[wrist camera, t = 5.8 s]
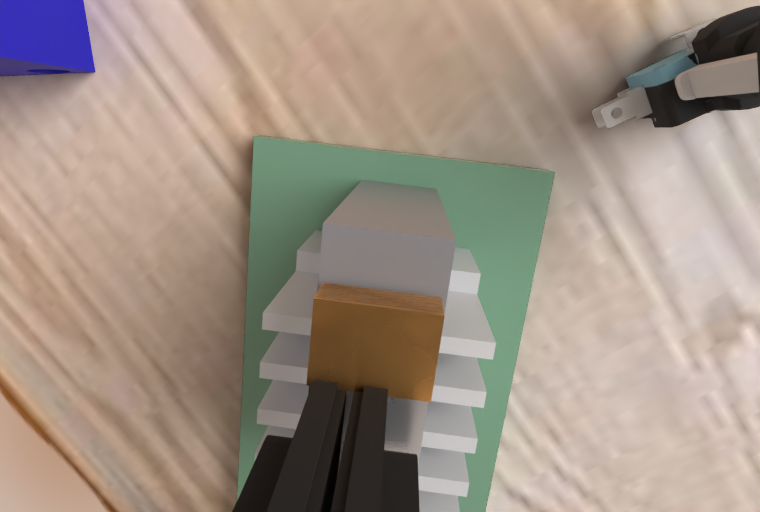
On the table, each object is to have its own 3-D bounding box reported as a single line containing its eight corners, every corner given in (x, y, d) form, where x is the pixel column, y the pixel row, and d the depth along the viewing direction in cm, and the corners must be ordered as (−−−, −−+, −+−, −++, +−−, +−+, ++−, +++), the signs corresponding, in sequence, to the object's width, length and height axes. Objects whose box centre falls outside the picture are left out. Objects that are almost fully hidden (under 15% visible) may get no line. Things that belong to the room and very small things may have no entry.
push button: (611, 178, 20) (791, 226, 11) (565, 53, 19) (719, -19, 10) (778, 104, 19) (1147, 84, 10) (739, -33, 18) (1112, -211, 9)
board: (548, 170, 20) (746, 235, 8) (469, 558, 26) (522, 944, 14) (261, 135, 21) (52, 149, 9) (241, 525, 26) (94, 873, 14)
